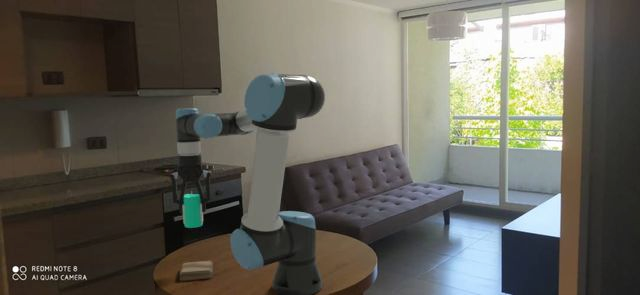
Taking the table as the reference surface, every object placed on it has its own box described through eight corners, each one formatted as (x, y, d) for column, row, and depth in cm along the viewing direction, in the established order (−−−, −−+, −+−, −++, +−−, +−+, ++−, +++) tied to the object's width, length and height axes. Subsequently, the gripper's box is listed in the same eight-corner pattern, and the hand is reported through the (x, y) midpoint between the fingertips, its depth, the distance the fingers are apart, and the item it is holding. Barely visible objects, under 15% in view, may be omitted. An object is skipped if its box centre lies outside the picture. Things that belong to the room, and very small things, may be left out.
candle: (181, 225, 156) (179, 191, 155) (196, 222, 161) (194, 188, 160) (190, 228, 152) (188, 193, 151) (206, 225, 157) (204, 190, 155)
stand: (211, 277, 148) (211, 270, 148) (179, 280, 147) (179, 273, 146) (212, 266, 158) (212, 259, 158) (182, 269, 156) (182, 262, 156)
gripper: (217, 151, 159) (220, 217, 162) (163, 154, 156) (167, 221, 158) (216, 154, 152) (219, 222, 154) (160, 156, 149) (164, 227, 151)
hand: (193, 222), depth 156 cm, fingers closed on candle, 5 cm apart
